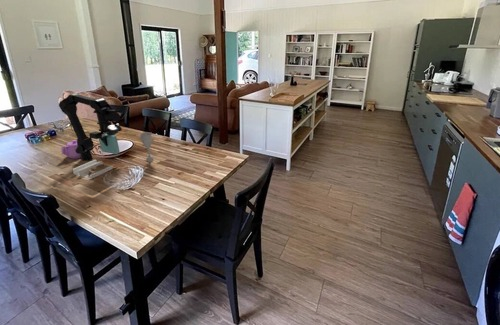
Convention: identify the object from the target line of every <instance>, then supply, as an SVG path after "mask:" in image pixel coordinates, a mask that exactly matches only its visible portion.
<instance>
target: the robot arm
mask: <svg viewBox="0 0 500 325" xmlns="http://www.w3.org/2000/svg"><path fill="white" fill-rule="evenodd" d="M78 103H79V104H83V105H86V106H89V107H90V108H91V109H93V114H96V118H97V121H98V122H96V124H97V125H98V126H99V129H98V131H93V132H90V133H89V136H88V135H87V134H86V132H85V130H84V127H83V124H82V123H81V121H80V119H79V117H78V114H77V111H78V106H77V105H78ZM58 107H59V109H60V111H61V112H62V113H64V115H66V116H67V117H68V118H67V119H68V120H69V122H70V124H71V127H72V129H73V131H74V133H75V136H76V138H77V139H76V140H77V145H78V147H77V149H76V150H75V151H76V153H78V154H80V155H81V160H82V161H84V162H85V161H88V162H91V161H93V160H94V159H93V154H92V151H93V150H94V141H93V139H95V140H99V138H100V139H101V141H102V142H103V143H104V144H105V145H106V146H108V144H107V139H106V138H107V136H105V134H109V135H115V136H116V135H117V134H118V133H119V132H121V131H123V129H122V127H121V126H120V124H119V123H118V122H120V120H121V115H120V113H119V112H118V111H117V109H113V108H112V106H111V105H110V104H109V103H108V101H107V100H106V99H105V98H102V97H100V98H99V97H95V98H93V97H89V96H85V95H82V94H79V93H76V92H75V93H71V94H68V95H67V97H65V98H63V99H62V100H60V101H59V103H58ZM112 122H115V123H116V124H113V123H112Z"/></svg>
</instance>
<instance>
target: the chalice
mask: <svg viewBox="0 0 500 325" xmlns="http://www.w3.org/2000/svg"><path fill="white" fill-rule="evenodd" d="M139 136H140V139H141V143H142V144H143V146H144V147H145V149H147V150H146V151H147V155H148V156H147V157H146V159H145V161H146V162H149V163H150V162H153V161H154V160H155V158H154V157H153V156H152V155H151V152H150V151H151V150H150V147H151V146H152V144H153V140H152V139H153V138H152V131H151V132H150V131H149V132H148V131H145V132H140V134H139Z"/></svg>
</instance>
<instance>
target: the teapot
mask: <svg viewBox="0 0 500 325" xmlns="http://www.w3.org/2000/svg"><path fill="white" fill-rule="evenodd" d="M77 147H78V145H77V139H73V140H71V141H69V142H67V143H66V144H65V145H63V146H61V147H60V148H61V154H62V155H64V156H67V157H68V158H69V159H73V160H74V159H80V158H81V155H80V154H78V153H76V151H75V150H76V149H77Z"/></svg>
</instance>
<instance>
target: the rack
mask: <svg viewBox="0 0 500 325" xmlns="http://www.w3.org/2000/svg"><path fill="white" fill-rule="evenodd" d="M99 164H103V161H102V160H99V161H97V159H92V160H90V161H88V162H86V163H84V164H81V165H79V166H76V167H74V168H72V172H73V175H74V176H78V177H82V178H86V179H90V180H93V178H96V177H99V176H100V175H103V174H105V173H106V172H109V171H111V170H113V169H114V167H113V166H114V165H113V164H112V165H110V166H109V165H108V166H106V167H107V168H105V169H103V170H100V171H98V172H96V173H94V174H92V175H90V176H89V175H88V173H89V172H88V171H90V170H91V168H93V167H95V166H97V165H99ZM103 165H104V164H103Z"/></svg>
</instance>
